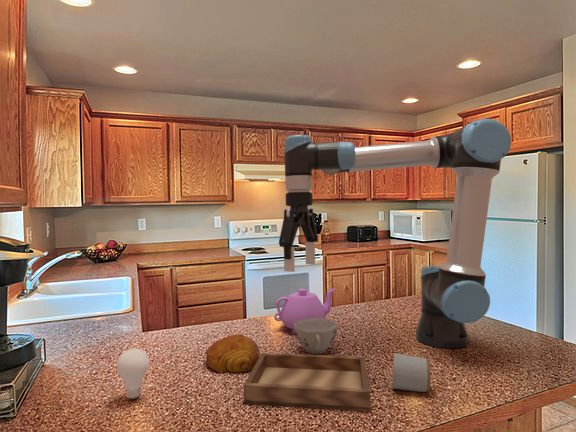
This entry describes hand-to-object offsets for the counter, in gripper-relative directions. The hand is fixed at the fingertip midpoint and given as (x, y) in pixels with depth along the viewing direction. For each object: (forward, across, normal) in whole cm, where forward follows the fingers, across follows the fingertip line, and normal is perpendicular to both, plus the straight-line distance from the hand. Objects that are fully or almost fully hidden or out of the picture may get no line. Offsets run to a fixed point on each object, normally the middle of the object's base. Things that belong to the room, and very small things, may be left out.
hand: (300, 267), depth 108 cm
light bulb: (+25, +38, -23) cm, 51 cm away
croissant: (+25, +12, -15) cm, 32 cm away
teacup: (+25, -4, +2) cm, 26 cm away
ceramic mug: (+26, +6, +30) cm, 40 cm away
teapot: (+25, -22, -9) cm, 35 cm away
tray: (+25, +16, +10) cm, 31 cm away
